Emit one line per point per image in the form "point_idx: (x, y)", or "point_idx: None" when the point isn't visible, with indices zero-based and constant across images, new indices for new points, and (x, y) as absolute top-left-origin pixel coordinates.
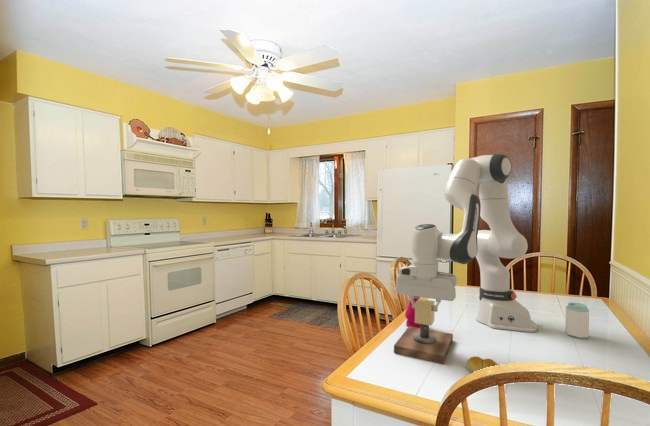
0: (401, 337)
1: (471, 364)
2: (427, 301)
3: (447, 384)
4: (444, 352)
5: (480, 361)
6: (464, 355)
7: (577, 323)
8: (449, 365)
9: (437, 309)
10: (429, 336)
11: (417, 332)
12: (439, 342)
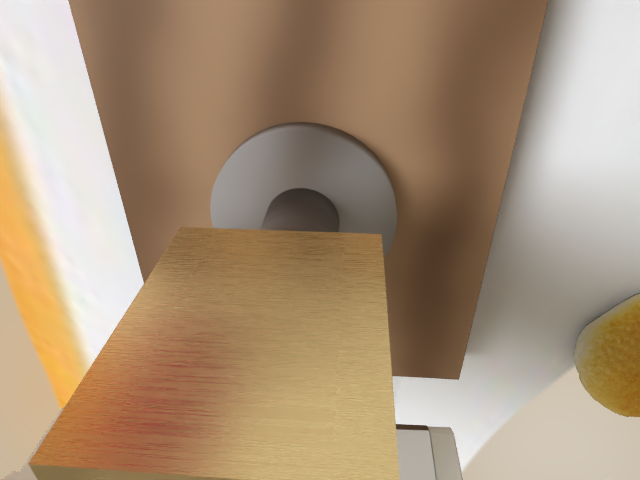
0: (142, 247)
1: (606, 405)
2: None
3: (466, 465)
4: (463, 343)
5: None
6: (594, 203)
7: None
8: (481, 348)
9: (452, 455)
10: (340, 201)
11: (203, 83)
12: (425, 216)
